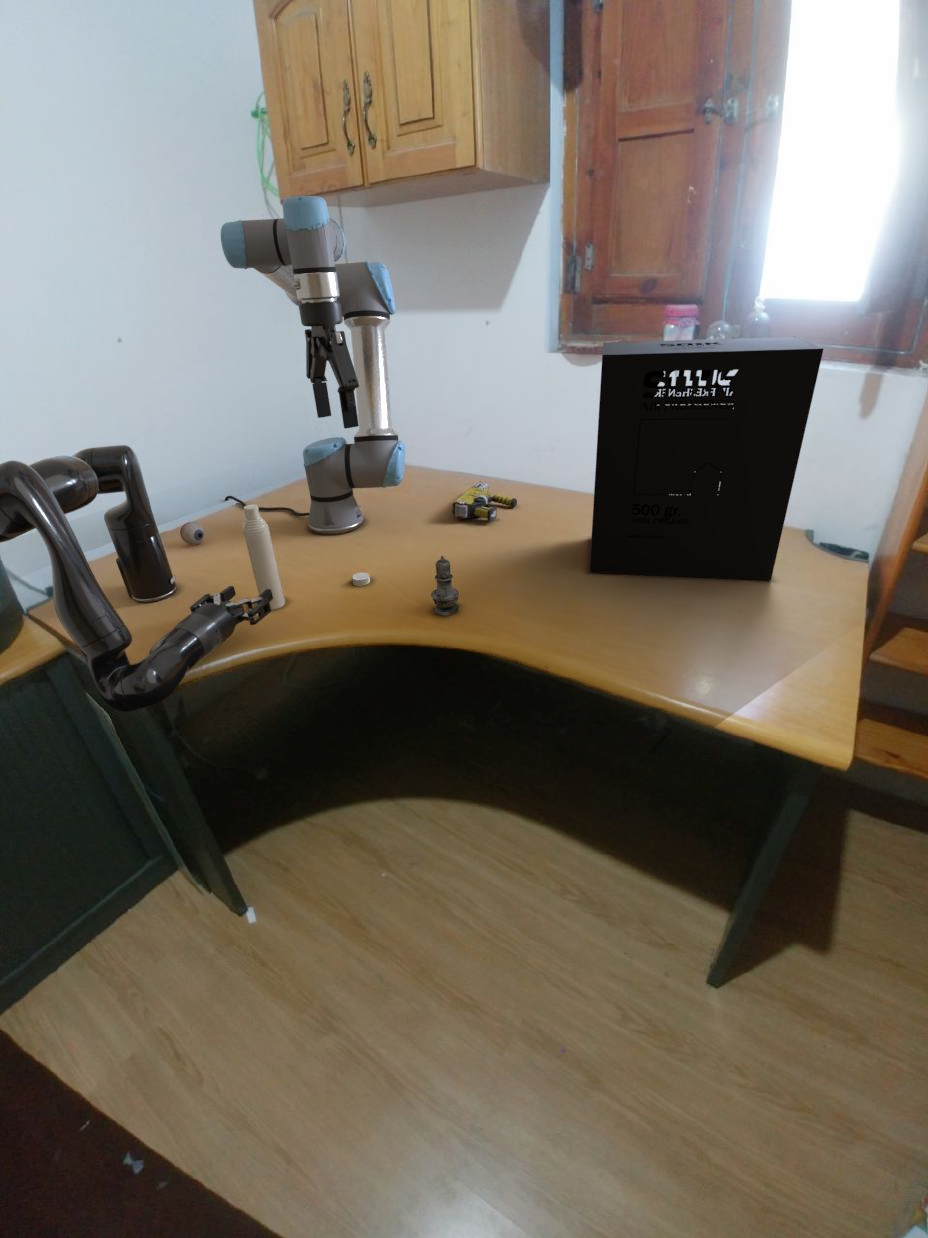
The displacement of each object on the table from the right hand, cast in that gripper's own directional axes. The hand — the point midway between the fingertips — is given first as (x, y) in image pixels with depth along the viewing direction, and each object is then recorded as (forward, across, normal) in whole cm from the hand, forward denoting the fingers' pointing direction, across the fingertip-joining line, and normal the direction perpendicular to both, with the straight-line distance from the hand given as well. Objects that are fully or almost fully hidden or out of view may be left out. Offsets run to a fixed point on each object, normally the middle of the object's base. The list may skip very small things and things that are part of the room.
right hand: (337, 421), depth 119 cm
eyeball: (+36, -50, -26) cm, 67 cm away
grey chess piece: (+36, +23, +8) cm, 43 cm away
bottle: (+36, -2, -20) cm, 41 cm away
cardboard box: (+36, +35, +63) cm, 80 cm away
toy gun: (+36, -20, +50) cm, 65 cm away
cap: (+34, 0, 0) cm, 34 cm away
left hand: (+29, +2, -24) cm, 38 cm away
